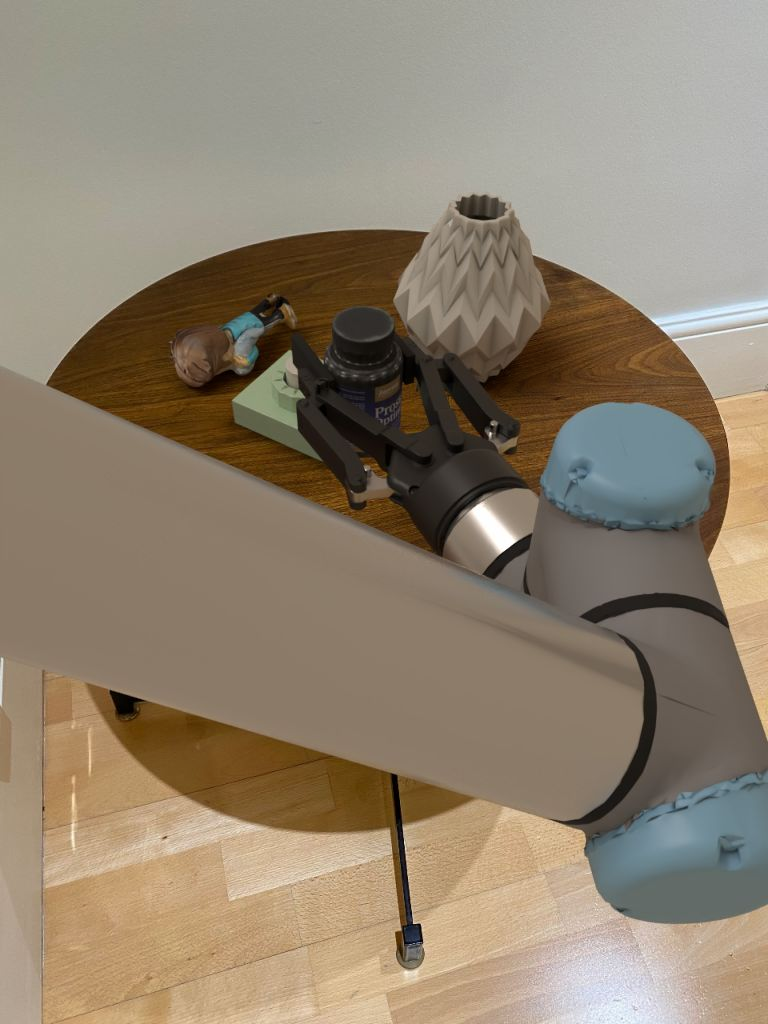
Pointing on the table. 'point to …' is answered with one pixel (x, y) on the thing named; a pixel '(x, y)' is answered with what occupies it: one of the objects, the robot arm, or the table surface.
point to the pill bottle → (367, 364)
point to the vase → (473, 287)
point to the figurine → (227, 342)
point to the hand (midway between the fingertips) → (335, 337)
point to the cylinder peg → (291, 374)
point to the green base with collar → (272, 408)
